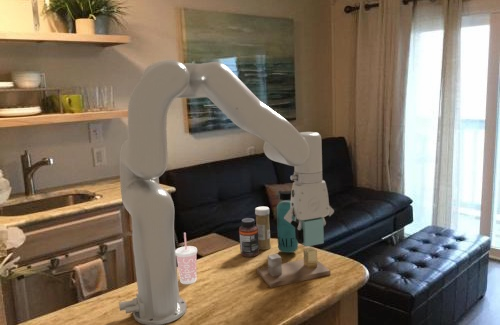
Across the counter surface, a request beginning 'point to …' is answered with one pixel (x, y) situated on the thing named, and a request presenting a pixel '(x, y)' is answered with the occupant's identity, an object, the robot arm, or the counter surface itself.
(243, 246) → the supplement bottle
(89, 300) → the counter surface
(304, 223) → the pale aqua cube
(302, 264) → the post board
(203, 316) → the counter surface
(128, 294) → the counter surface
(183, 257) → the beverage cup
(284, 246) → the beverage bottle
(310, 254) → the brass post
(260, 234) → the sprinkles bottle
